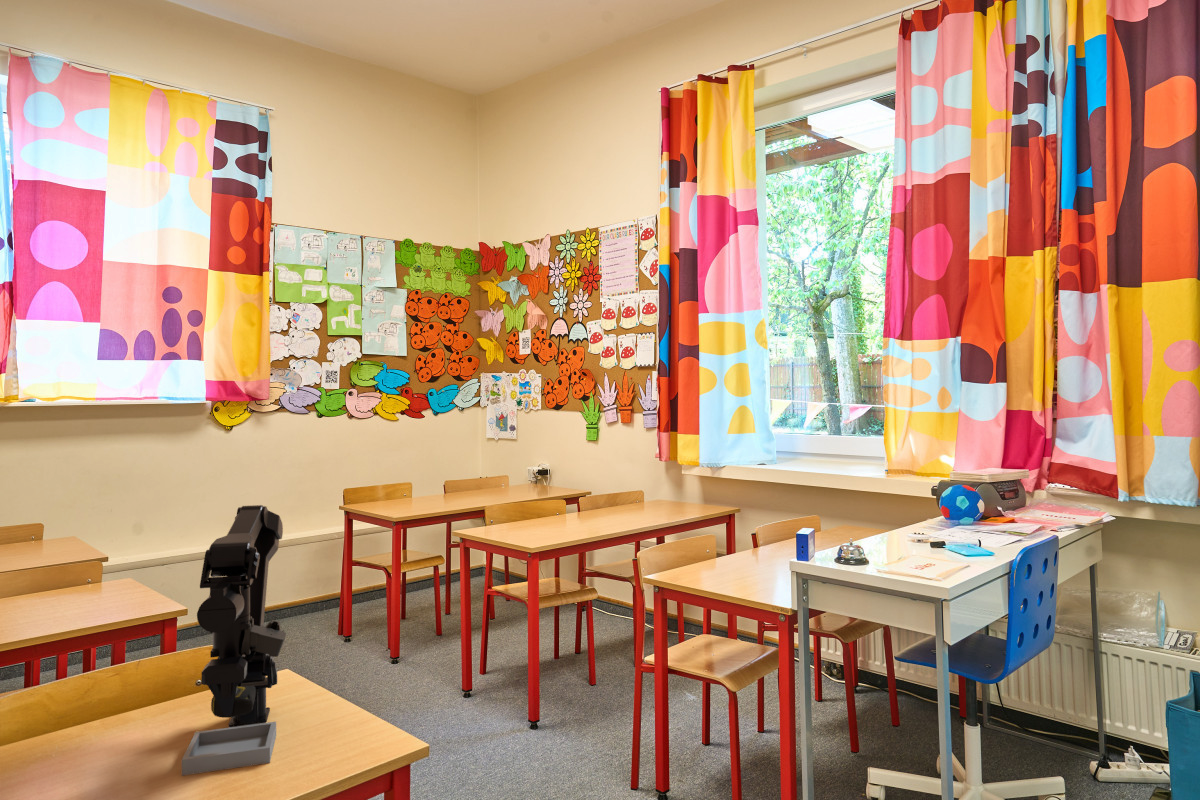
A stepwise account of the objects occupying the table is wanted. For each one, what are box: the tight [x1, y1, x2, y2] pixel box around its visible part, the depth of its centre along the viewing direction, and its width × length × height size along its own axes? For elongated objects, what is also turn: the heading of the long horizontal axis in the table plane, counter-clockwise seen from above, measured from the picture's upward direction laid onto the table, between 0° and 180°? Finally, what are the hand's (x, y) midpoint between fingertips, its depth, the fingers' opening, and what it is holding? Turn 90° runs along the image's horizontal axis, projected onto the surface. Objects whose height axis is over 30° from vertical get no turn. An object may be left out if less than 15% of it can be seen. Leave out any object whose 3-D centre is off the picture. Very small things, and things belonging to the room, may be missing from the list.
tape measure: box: [210, 686, 258, 719], centre depth 127 cm, size 7×7×4 cm
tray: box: [181, 721, 277, 776], centre depth 127 cm, size 11×13×2 cm
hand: (231, 706), depth 127 cm, fingers closed on tape measure, 7 cm apart
